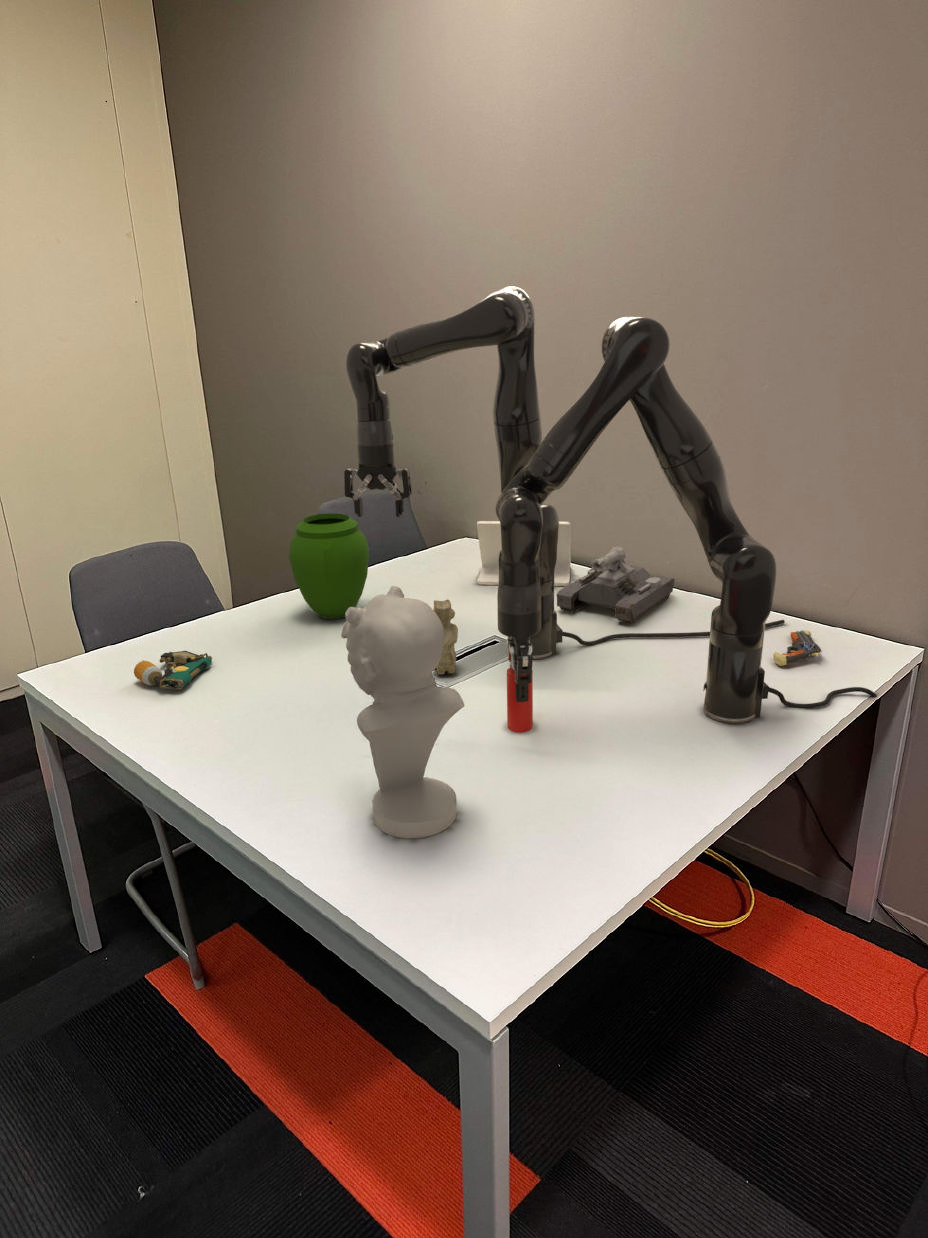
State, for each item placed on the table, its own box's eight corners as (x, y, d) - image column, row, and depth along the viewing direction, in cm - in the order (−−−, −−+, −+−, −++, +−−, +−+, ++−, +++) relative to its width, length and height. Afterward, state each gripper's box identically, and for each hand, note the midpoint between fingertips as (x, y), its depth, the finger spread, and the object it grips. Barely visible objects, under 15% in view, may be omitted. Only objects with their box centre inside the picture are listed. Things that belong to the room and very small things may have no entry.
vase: (389, 608, 216) (383, 514, 208) (339, 633, 201) (330, 533, 192) (330, 596, 226) (322, 506, 218) (278, 619, 211) (267, 523, 202)
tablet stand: (569, 585, 229) (570, 524, 223) (476, 584, 232) (475, 523, 226) (570, 566, 246) (571, 508, 240) (484, 564, 249) (483, 507, 243)
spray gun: (177, 659, 191) (231, 671, 185) (120, 684, 176) (176, 698, 171) (176, 641, 190) (230, 653, 184) (118, 665, 175) (174, 678, 169)
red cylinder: (516, 735, 152) (515, 678, 148) (502, 725, 156) (501, 669, 152) (537, 728, 154) (537, 672, 150) (523, 718, 158) (523, 663, 154)
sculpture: (458, 662, 183) (456, 596, 178) (460, 676, 176) (457, 608, 171) (431, 663, 183) (428, 597, 177) (431, 677, 176) (428, 609, 171)
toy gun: (776, 657, 175) (828, 653, 173) (763, 629, 193) (810, 626, 191) (777, 669, 176) (828, 666, 174) (763, 640, 194) (810, 637, 191)
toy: (603, 584, 229) (605, 530, 224) (673, 597, 218) (677, 540, 213) (555, 612, 210) (556, 553, 205) (630, 627, 199) (633, 566, 194)
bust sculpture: (415, 752, 147) (404, 557, 135) (484, 821, 127) (478, 600, 115) (327, 777, 140) (307, 574, 128) (385, 855, 120) (368, 623, 108)
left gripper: (337, 444, 177) (343, 520, 183) (404, 443, 175) (408, 521, 181) (346, 438, 184) (352, 512, 190) (411, 438, 182) (415, 512, 188)
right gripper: (548, 618, 141) (547, 711, 147) (533, 590, 154) (533, 676, 160) (503, 621, 140) (504, 714, 146) (492, 593, 153) (494, 679, 159)
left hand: (379, 516), depth 186 cm, fingers open, 8 cm apart
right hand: (519, 694), depth 153 cm, fingers closed on red cylinder, 4 cm apart
